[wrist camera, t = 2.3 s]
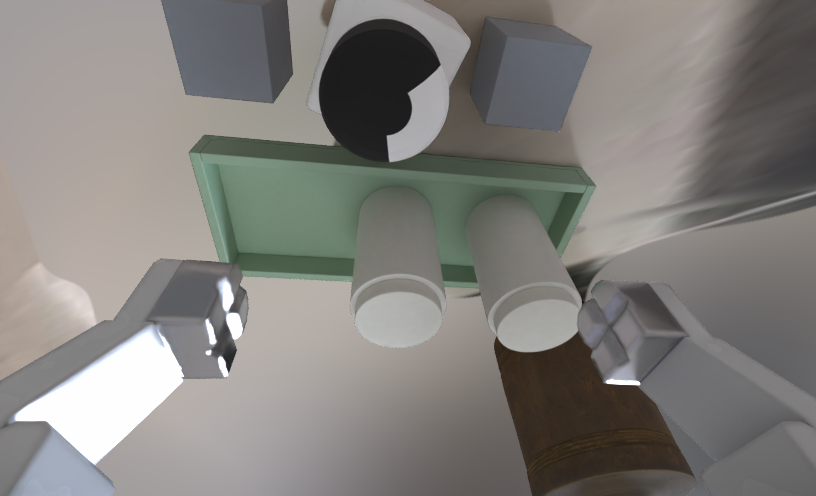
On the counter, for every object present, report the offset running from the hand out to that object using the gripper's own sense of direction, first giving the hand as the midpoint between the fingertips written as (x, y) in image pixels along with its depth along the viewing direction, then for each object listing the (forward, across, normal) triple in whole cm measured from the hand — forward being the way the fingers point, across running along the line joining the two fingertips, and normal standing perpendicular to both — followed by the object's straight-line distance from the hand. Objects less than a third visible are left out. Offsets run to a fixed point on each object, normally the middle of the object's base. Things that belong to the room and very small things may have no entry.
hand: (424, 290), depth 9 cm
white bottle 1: (+22, -1, +14) cm, 26 cm away
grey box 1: (+23, +10, 0) cm, 25 cm away
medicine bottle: (+23, +1, 0) cm, 23 cm away
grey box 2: (+23, -8, 0) cm, 24 cm away
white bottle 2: (+22, -11, +14) cm, 28 cm away
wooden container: (+23, -23, +32) cm, 46 cm away
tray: (+23, -1, +14) cm, 27 cm away
